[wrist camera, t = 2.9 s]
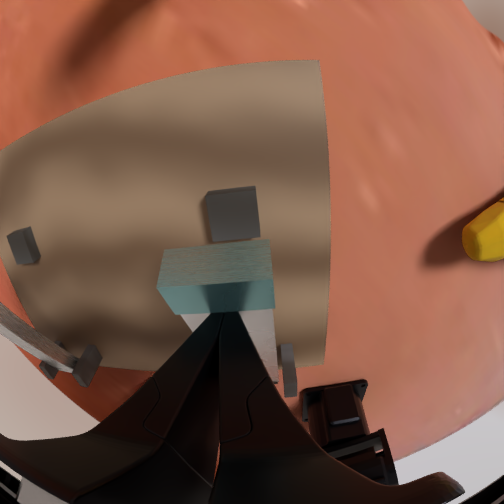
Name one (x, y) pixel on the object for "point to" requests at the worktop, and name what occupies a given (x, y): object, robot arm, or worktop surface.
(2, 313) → the bar
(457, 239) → the worktop surface
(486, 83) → the worktop surface
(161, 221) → the jig board
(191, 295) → the bar
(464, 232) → the torch
